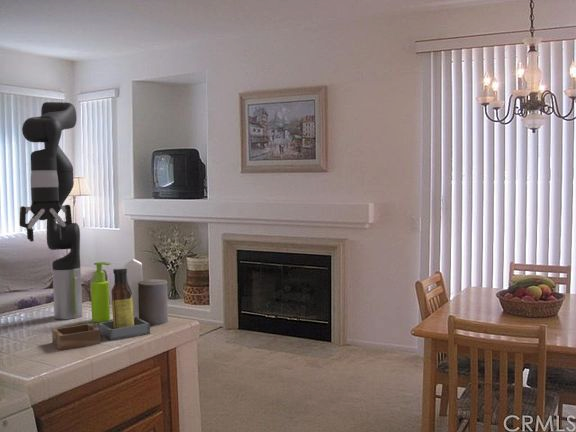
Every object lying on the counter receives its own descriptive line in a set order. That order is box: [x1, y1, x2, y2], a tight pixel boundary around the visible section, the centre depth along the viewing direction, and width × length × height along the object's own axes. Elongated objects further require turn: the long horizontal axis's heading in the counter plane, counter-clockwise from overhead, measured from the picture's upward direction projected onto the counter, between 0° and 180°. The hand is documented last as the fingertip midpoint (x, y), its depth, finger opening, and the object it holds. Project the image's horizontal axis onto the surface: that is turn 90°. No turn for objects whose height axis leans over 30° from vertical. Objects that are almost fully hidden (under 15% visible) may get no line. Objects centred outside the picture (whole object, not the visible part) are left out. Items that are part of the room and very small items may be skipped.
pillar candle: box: [138, 277, 169, 326], centre depth 189 cm, size 10×10×15 cm
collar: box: [51, 322, 101, 351], centre depth 165 cm, size 10×11×4 cm
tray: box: [97, 317, 151, 341], centre depth 176 cm, size 11×12×3 cm
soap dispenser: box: [90, 261, 111, 323], centre depth 193 cm, size 6×7×20 cm
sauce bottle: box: [111, 267, 134, 329], centre depth 175 cm, size 7×6×20 cm
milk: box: [123, 253, 144, 318], centre depth 196 cm, size 6×6×22 cm
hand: (46, 240), depth 168 cm, fingers open, 8 cm apart
